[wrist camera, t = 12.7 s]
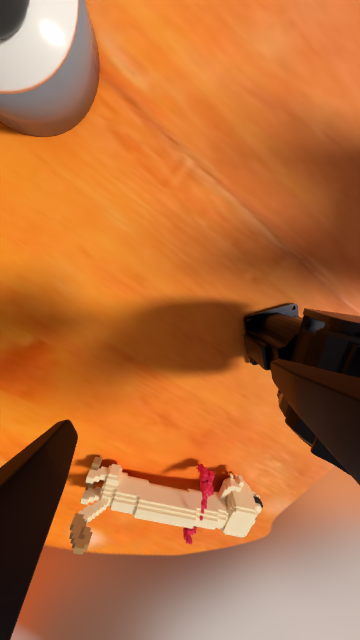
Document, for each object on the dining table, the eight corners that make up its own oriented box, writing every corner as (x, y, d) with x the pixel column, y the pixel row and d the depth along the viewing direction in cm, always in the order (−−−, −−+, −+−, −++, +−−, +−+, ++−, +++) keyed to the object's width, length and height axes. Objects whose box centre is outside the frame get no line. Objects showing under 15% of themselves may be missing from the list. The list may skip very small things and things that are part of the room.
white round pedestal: (65, -73, 12) (22, -229, 9) (118, 121, 15) (103, 69, 11) (-93, -42, 12) (-213, -191, 8) (-9, 150, 15) (-68, 106, 11)
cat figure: (91, 484, 27) (242, 515, 29) (51, 579, 18) (270, 613, 20) (104, 432, 25) (266, 469, 27) (66, 512, 16) (308, 557, 18)
